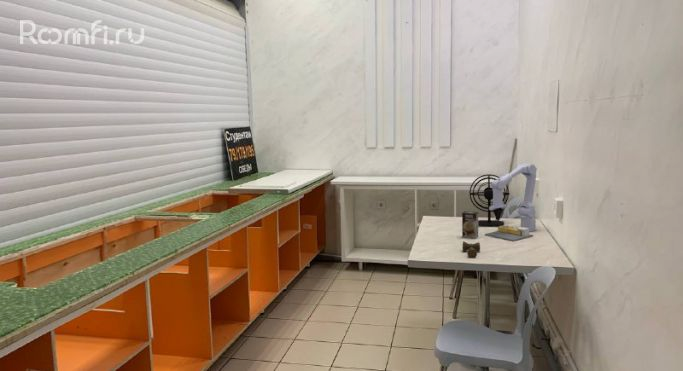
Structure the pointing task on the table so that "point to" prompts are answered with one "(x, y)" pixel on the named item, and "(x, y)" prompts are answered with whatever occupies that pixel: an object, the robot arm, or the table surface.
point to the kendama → (471, 249)
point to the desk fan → (489, 196)
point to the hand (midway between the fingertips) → (497, 219)
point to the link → (509, 230)
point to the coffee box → (470, 224)
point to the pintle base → (511, 236)
